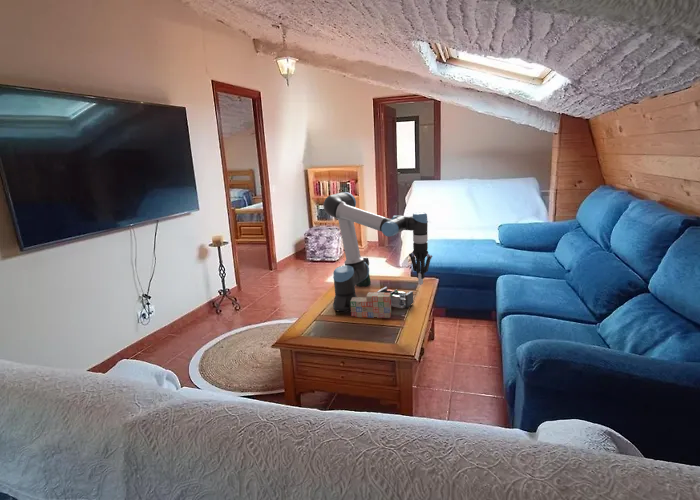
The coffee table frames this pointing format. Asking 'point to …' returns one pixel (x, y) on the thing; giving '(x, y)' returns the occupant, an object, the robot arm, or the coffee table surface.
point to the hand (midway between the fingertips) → (420, 283)
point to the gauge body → (395, 297)
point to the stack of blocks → (372, 305)
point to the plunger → (405, 298)
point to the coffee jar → (367, 280)
